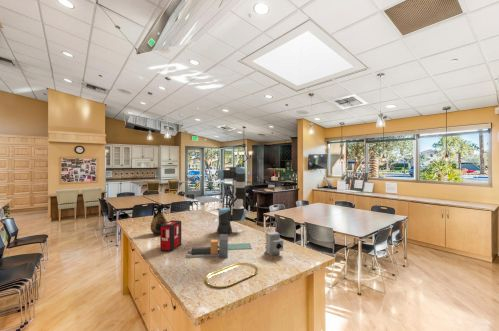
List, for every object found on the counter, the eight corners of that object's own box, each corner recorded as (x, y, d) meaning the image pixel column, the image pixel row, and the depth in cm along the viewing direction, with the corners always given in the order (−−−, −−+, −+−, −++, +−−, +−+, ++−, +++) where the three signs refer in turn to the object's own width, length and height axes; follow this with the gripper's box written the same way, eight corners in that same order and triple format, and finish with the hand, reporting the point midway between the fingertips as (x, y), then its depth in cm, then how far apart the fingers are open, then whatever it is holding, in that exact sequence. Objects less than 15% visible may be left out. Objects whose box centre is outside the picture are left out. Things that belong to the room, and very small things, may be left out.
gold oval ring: (199, 280, 133) (199, 277, 133) (244, 262, 157) (244, 260, 157) (218, 293, 119) (218, 290, 119) (264, 271, 143) (264, 269, 143)
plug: (192, 253, 171) (192, 240, 171) (219, 252, 173) (219, 239, 173) (191, 256, 166) (191, 242, 166) (219, 255, 168) (219, 241, 168)
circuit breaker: (275, 258, 163) (275, 237, 163) (265, 251, 175) (265, 232, 175) (284, 256, 166) (284, 235, 166) (273, 250, 179) (273, 230, 179)
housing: (188, 251, 176) (188, 235, 176) (227, 249, 179) (227, 233, 179) (185, 259, 161) (185, 241, 161) (227, 257, 164) (227, 240, 164)
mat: (226, 244, 191) (226, 243, 191) (250, 243, 193) (250, 243, 193) (226, 249, 179) (226, 249, 179) (251, 248, 181) (251, 248, 181)
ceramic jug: (167, 231, 229) (167, 201, 229) (167, 235, 214) (167, 203, 214) (149, 232, 223) (149, 202, 223) (147, 237, 209) (147, 204, 209)
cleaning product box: (171, 244, 192) (171, 220, 192) (181, 244, 190) (181, 220, 190) (160, 251, 176) (160, 225, 176) (170, 252, 174) (171, 225, 174)
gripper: (224, 187, 174) (224, 215, 174) (256, 187, 177) (256, 214, 177) (224, 186, 181) (224, 213, 181) (255, 186, 184) (255, 212, 184)
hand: (240, 214), depth 179 cm, fingers open, 13 cm apart
